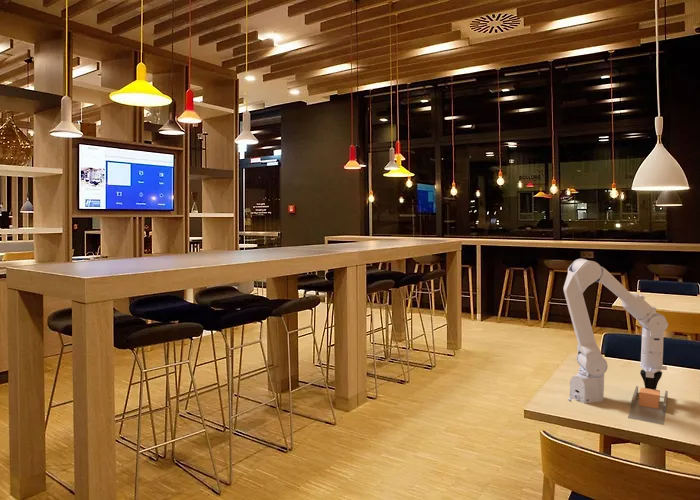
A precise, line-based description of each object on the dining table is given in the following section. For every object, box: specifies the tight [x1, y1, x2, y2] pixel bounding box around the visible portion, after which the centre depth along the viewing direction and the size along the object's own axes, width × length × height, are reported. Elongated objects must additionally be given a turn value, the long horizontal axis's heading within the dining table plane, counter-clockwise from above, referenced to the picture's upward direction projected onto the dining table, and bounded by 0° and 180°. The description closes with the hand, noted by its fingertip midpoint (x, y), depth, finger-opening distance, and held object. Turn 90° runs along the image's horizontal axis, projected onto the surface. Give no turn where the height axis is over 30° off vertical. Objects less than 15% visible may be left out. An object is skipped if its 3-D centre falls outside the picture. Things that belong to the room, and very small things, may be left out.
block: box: [638, 387, 661, 409], centre depth 155 cm, size 5×5×4 cm
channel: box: [627, 385, 669, 425], centre depth 153 cm, size 25×9×3 cm, turn 147°
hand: (650, 394), depth 159 cm, fingers closed
